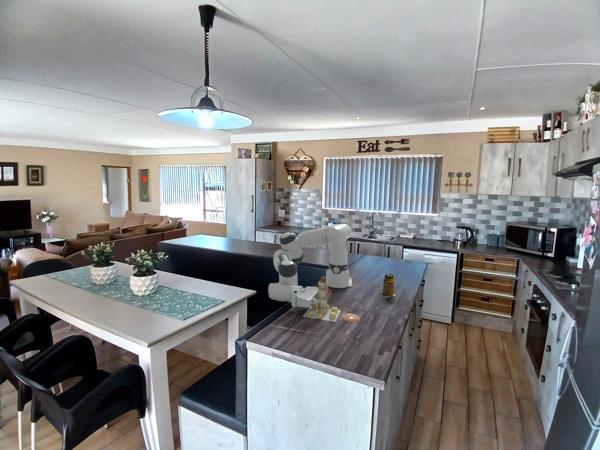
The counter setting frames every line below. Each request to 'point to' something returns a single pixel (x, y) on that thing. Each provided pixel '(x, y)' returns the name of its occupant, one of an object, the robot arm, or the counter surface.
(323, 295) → the pepper mill
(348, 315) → the coaster
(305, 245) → the robot arm
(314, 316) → the mat
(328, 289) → the cupcake
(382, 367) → the counter surface
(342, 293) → the counter surface
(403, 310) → the counter surface
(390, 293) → the condiment
